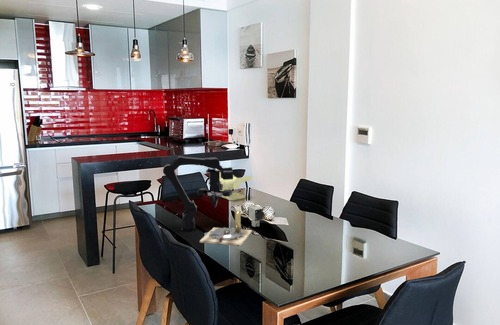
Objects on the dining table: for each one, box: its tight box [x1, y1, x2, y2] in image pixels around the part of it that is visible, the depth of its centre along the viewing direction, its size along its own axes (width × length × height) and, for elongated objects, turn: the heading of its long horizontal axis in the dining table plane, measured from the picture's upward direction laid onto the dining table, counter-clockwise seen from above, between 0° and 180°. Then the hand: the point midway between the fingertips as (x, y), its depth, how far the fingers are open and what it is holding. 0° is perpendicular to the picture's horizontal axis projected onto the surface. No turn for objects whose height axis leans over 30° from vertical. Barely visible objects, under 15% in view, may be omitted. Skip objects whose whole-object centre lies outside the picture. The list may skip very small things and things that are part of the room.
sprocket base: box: [199, 227, 253, 247], centre depth 213 cm, size 22×22×3 cm
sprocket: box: [209, 210, 244, 241], centre depth 212 cm, size 18×18×12 cm
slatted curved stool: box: [220, 172, 253, 201], centre depth 298 cm, size 30×16×18 cm, turn 36°
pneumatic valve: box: [247, 205, 265, 228], centre depth 231 cm, size 6×12×12 cm, turn 27°
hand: (215, 207), depth 227 cm, fingers closed
